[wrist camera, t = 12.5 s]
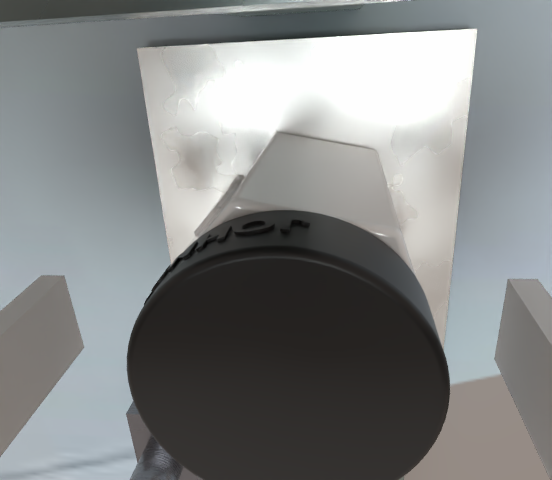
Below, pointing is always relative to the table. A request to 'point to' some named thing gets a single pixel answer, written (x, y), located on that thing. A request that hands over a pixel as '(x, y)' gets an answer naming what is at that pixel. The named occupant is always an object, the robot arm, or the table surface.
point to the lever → (152, 454)
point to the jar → (293, 329)
